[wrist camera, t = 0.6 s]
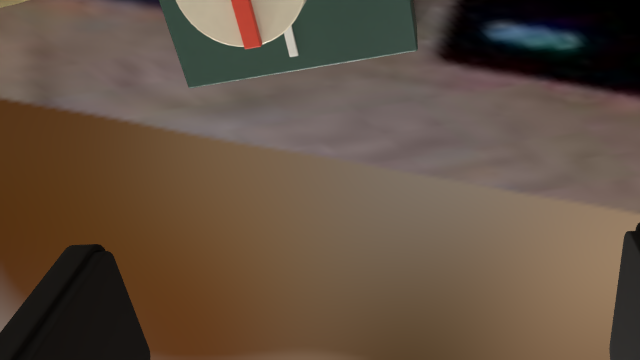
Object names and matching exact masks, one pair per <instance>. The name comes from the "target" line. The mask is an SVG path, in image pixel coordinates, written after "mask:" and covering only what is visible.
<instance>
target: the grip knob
mask: <svg viewBox="0 0 640 360" xmlns="http://www.w3.org/2000/svg"><path fill="white" fill-rule="evenodd" d="M176 2H177V4H178V6H179V8H180V9H181V11H182V12H183V14H184V15H185V17H186V18H187V19H188V20H189V21H190V22H191V24H192V25H194V26H195V27H196V28H197V29H198V30H199V31H201V32H202V33H203V34H205V35H206V36H208V37H210V38H211V39H213V40H216V41H218V42H220V43H223V44H227V45H231V46H237V47H244V48H245V49H250V48H255V47H260V46H261V45H262V44H265V43H267V42H270V41H272V40H274V39H276V38H277V37H279V36H280V35H282V34H283V33H284V32H285V31H286V30H287V29H288V28H289V27H290V26H291V25H292V24H293V22H294V21H295V20H296V18H297V17H298V15H299V13H300V11H301V9H302V7H303V6H304V4H305V2H306V0H176Z"/></svg>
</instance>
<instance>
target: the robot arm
mask: <svg viewBox="0 0 640 360" xmlns="http://www.w3.org/2000/svg"><path fill="white" fill-rule="evenodd" d="M0 360H150V350H149V347H148V344H147V342H146V339H145V337H144V334H143V332H142V329H141V327H140V324H139V322H138V318H137V316H136V313H135V311H134V308H133V306H132V303H131V300H130V298H129V295H128V292H127V290H126V287H125V285H124V282H123V279H122V277H121V274H120V272H119V269H118V266H117V264H116V261H115V259H114V256H113V254H112V253H111V252H108V251H105V249H104V248H103V247H102V246H101V245H98V244H92V245H72V246H69V247H68V248H66V250H65V251H64V252H63V253H62V254H61V256H60V257H59V258H58V259H57V261H56V262H55V263H54V265H53V266H52V267H51V268H50V270H49V271H48V272H47V274H46V275H45V276H44V277H43V279H42V280H41V281H40V283H39V284H38V285H37V286H36V288H35V289H34V290H33V291H32V293H31V294H30V295H29V297H28V298H27V299H26V300H25V302H24V303H23V304H22V306H21V307H20V308H19V309H18V311H17V312H16V313H15V314H14V316H13V317H12V318H11V320H10V321H9V322H8V324H7V325H6V326H5V327H4V329H3V330H2V331H1V332H0ZM610 360H640V223H638V225H637V227H636V231H628V232H626V234H625V236H624V242H623V249H622V257H621V265H620V272H619V280H618V287H617V295H616V302H615V310H614V317H613V325H612V332H611V340H610Z"/></svg>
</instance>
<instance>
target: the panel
mask: <svg viewBox="0 0 640 360" xmlns="http://www.w3.org/2000/svg"><path fill="white" fill-rule="evenodd" d="M159 2H160V5H161V7H162V10H163V13H164V16H165V19H166V22H167V25H168V28H169V31H170V34H171V37H172V40H173V43H174V46H175V49H176V52H177V54H178V57H179V60H180V63H181V66H182V69H183V72H184V75H185V78H186V81H187V84H188V87H189V88H195V87H201V86H207V85H213V84H219V83H225V82H231V81H237V80H243V79H250V78H256V77H262V76H268V75H274V74H280V73H286V72H292V71H298V70H304V69H310V68H316V67H322V66H328V65H334V64H341V63H347V62H353V61H359V60H365V59H371V58H377V57H383V56H389V55H395V54H401V53H407V52H413V51H417V49H418V45H417V24H416V17H415V10H414V3H413V0H306V2H305V4H304V6H303V7H302V9H301V11H300V13H299V15H298V17H297V18H296V20H295V21H294V22H293V24H292V25H291V26H290V27H289V28H288V29H287V30H286V31H285V32H284V33H283V34H282V35H280V36H279V37H277V38H276V39H274V40H272V41H270V42H267V43H265V44H262V45H261V46H260V47H255V48H250V49H245V48H244V47H237V46H231V45H227V44H223V43H220V42H218V41H216V40H213V39H211V38H210V37H208V36H206V35H205V34H203V33H202V32H201V31H199V30H198V29H197V28H196V27H195V26H194V25H192V24H191V22H190V21H189V20H188V19H187V18H186V17H185V15H184V14H183V12H182V11H181V9H180V8H179V6H178V4H177V2H176V0H159Z"/></svg>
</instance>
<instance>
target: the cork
mask: <svg viewBox="0 0 640 360" xmlns="http://www.w3.org/2000/svg"><path fill="white" fill-rule="evenodd" d="M24 1H28V0H0V7H5V6H9V5H13V4H17V3H21V2H24Z"/></svg>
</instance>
